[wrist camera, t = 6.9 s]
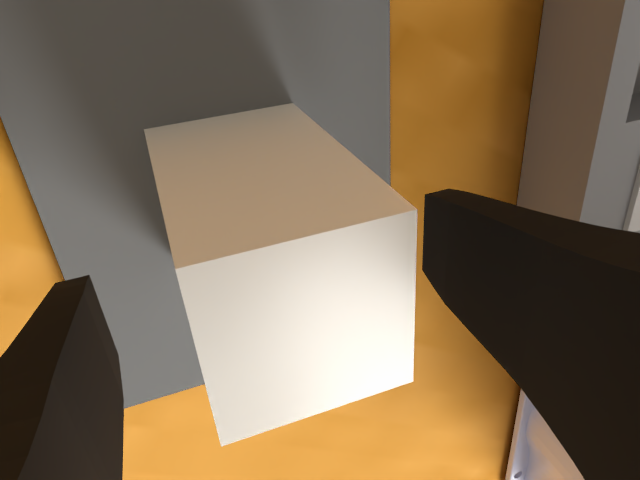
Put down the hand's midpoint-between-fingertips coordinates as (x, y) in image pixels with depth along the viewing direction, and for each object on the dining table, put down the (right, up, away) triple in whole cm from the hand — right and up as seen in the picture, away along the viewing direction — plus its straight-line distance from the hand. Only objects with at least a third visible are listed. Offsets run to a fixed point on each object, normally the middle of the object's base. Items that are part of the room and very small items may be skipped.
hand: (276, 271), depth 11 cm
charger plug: (-2, +2, +4) cm, 5 cm away
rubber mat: (-2, +2, +4) cm, 5 cm away
